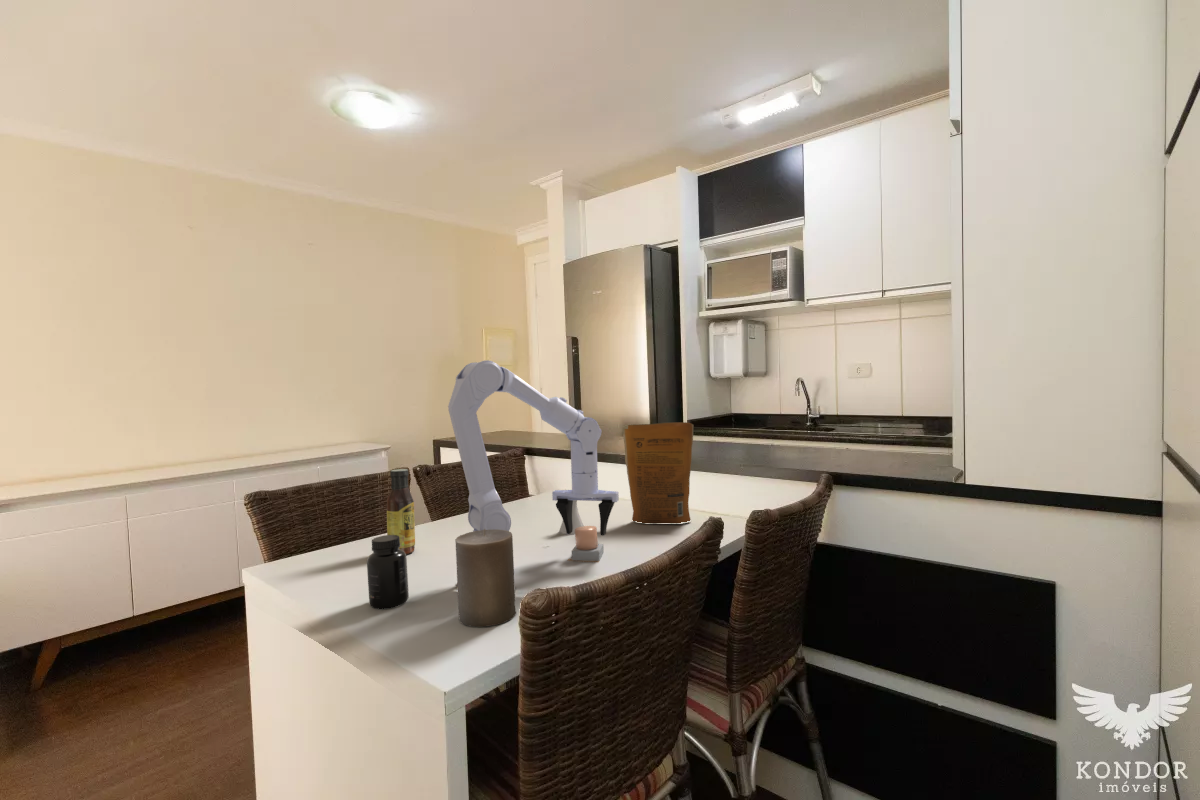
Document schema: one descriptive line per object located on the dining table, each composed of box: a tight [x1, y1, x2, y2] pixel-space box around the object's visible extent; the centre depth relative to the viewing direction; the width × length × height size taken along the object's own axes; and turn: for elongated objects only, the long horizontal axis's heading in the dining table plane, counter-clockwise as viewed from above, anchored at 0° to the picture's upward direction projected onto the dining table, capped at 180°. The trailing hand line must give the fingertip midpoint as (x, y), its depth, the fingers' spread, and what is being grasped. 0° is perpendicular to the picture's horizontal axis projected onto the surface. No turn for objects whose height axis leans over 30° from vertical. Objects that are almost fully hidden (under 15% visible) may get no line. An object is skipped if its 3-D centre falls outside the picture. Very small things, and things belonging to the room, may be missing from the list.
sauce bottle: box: [386, 468, 416, 555], centre depth 133 cm, size 7×6×20 cm
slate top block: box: [571, 543, 604, 562], centre depth 122 cm, size 6×6×2 cm
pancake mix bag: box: [622, 421, 694, 523], centre depth 153 cm, size 7×19×28 cm, turn 79°
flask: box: [558, 500, 585, 536], centre depth 143 cm, size 7×7×10 cm
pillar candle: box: [454, 529, 517, 628], centre depth 95 cm, size 10×10×15 cm
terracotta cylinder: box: [574, 525, 599, 550], centre depth 122 cm, size 5×5×4 cm
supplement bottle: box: [366, 534, 410, 610], centre depth 102 cm, size 7×7×12 cm
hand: (586, 533), depth 121 cm, fingers open, 7 cm apart
